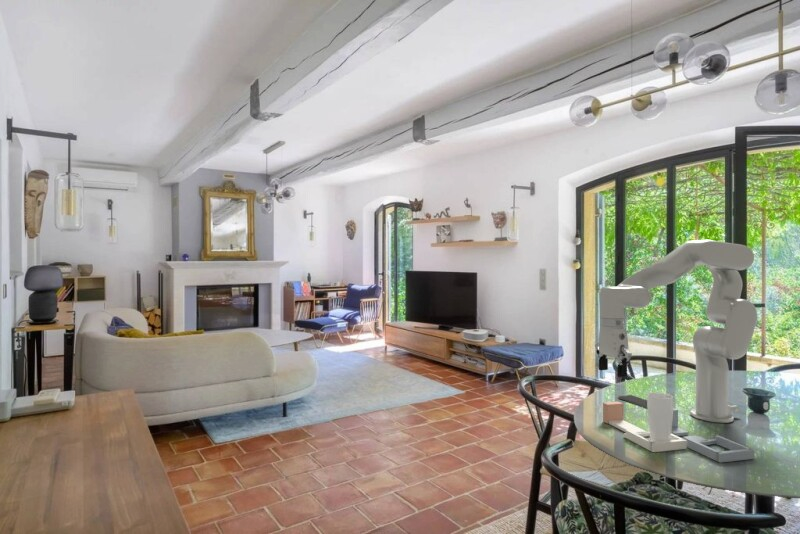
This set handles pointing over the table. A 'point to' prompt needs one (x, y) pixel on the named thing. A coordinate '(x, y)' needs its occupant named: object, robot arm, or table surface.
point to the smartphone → (634, 400)
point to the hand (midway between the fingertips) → (612, 373)
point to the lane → (638, 430)
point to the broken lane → (699, 443)
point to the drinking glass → (660, 416)
